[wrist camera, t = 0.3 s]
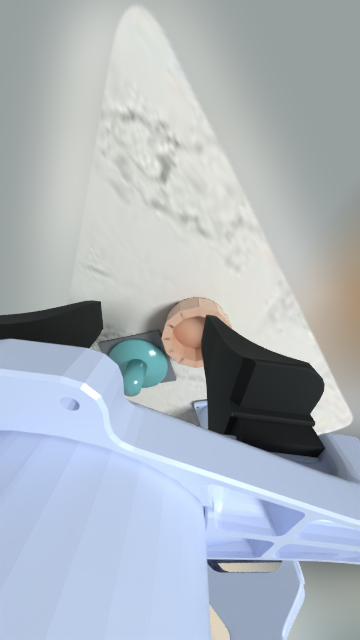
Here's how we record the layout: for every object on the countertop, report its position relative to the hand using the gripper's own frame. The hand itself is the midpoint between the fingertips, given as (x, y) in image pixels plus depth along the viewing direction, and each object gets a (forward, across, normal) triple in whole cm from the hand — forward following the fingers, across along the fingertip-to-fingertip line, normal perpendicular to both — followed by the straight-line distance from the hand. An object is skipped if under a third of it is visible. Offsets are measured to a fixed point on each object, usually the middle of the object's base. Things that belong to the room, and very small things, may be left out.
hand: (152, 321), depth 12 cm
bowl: (+10, -4, +5) cm, 12 cm away
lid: (+10, +3, +12) cm, 16 cm away
